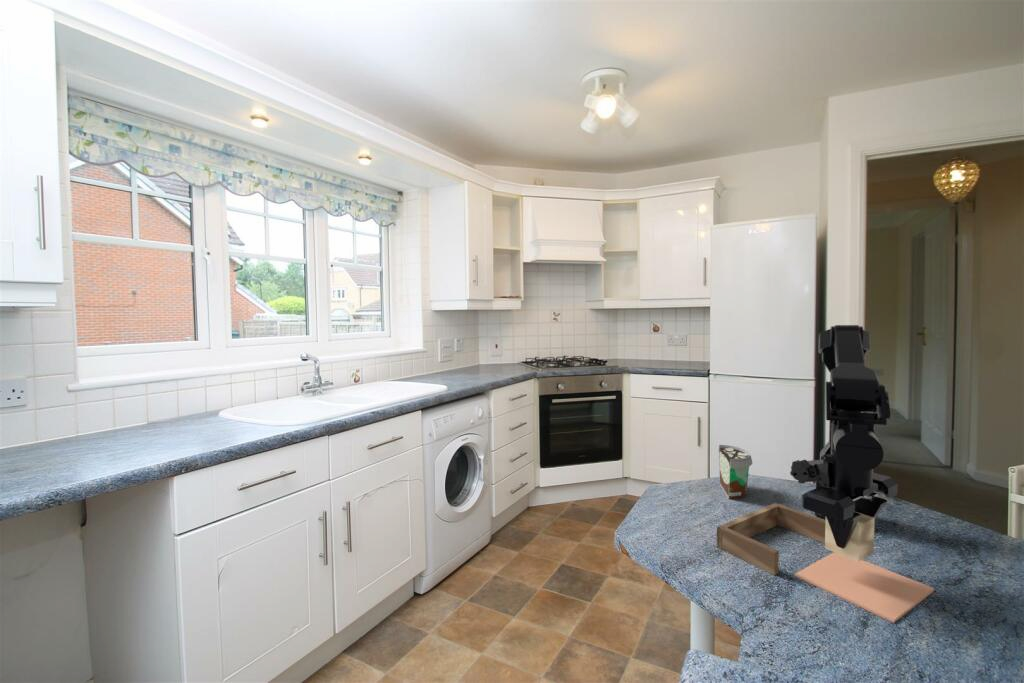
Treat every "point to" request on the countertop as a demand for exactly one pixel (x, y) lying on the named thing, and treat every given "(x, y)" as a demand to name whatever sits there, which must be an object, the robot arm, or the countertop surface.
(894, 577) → the mat
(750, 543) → the open side box
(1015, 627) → the countertop surface
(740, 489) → the food container
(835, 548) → the maple block
